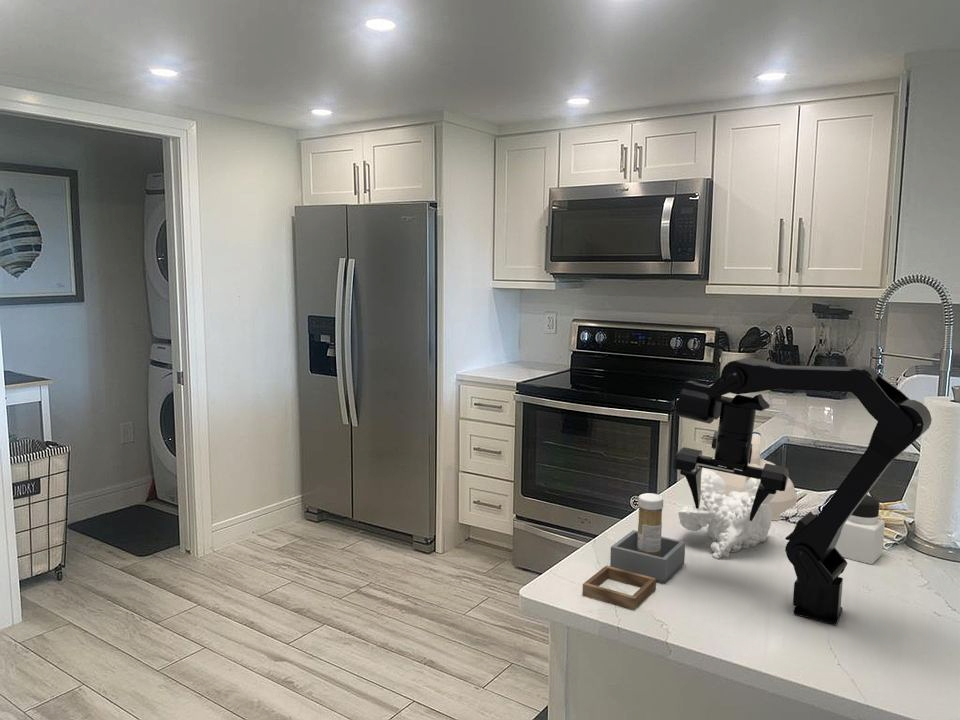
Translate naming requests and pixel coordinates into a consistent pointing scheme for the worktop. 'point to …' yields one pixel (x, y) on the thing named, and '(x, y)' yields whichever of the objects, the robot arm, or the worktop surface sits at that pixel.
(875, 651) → the worktop surface
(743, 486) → the kettle
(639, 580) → the walnut holder
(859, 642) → the worktop surface
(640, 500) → the sprinkles bottle
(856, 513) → the medicine bottle
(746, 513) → the white coral
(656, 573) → the grey bin
